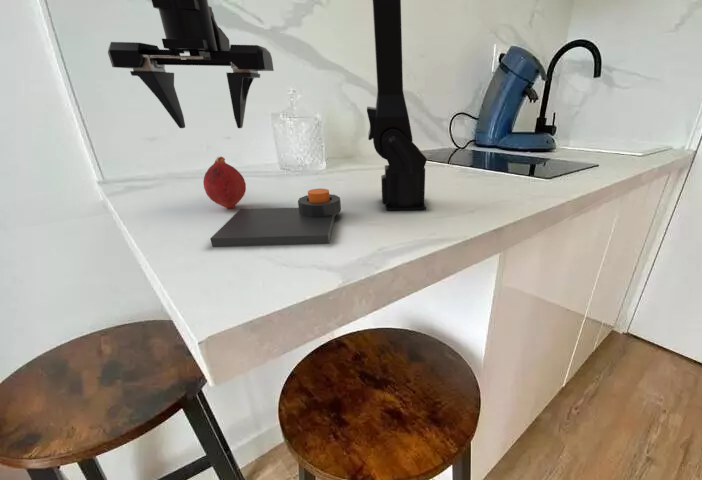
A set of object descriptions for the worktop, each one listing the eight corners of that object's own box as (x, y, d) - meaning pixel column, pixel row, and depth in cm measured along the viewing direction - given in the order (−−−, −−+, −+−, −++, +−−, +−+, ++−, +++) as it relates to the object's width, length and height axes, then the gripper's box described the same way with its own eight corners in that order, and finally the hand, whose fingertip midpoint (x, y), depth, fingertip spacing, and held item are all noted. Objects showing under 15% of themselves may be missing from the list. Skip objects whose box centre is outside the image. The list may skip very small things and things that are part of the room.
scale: (342, 212, 57) (341, 193, 56) (336, 244, 46) (334, 221, 44) (244, 214, 56) (239, 195, 54) (212, 247, 45) (206, 224, 43)
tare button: (330, 198, 55) (329, 188, 54) (329, 204, 52) (328, 193, 51) (310, 198, 54) (309, 188, 54) (307, 204, 52) (306, 193, 51)
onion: (235, 215, 55) (222, 161, 51) (201, 213, 56) (187, 159, 52) (256, 204, 60) (247, 154, 56) (225, 202, 61) (214, 152, 57)
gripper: (273, 7, 53) (288, 123, 60) (136, 2, 51) (170, 122, 59) (251, -11, 43) (273, 130, 51) (82, -17, 42) (130, 130, 49)
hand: (211, 128), depth 53 cm, fingers open, 8 cm apart
